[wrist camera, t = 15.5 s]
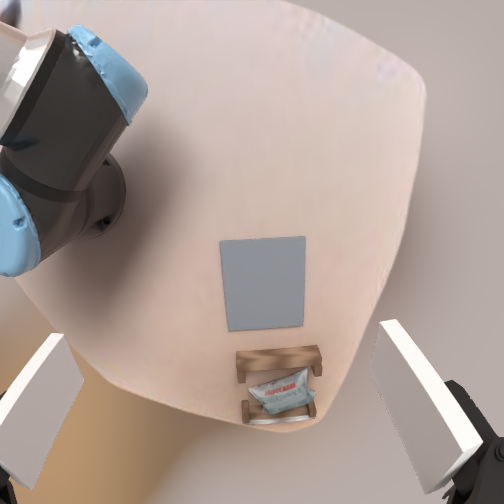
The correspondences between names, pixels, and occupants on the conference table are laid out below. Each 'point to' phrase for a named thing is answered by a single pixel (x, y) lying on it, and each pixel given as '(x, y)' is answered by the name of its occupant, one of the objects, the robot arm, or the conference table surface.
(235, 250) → the slate mat
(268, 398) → the packaged food
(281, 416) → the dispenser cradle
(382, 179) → the conference table surface
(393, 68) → the conference table surface
